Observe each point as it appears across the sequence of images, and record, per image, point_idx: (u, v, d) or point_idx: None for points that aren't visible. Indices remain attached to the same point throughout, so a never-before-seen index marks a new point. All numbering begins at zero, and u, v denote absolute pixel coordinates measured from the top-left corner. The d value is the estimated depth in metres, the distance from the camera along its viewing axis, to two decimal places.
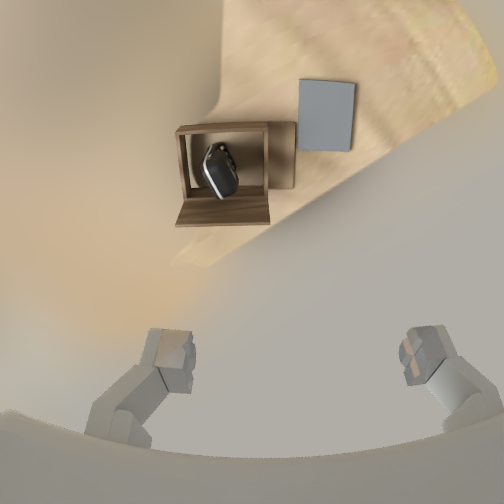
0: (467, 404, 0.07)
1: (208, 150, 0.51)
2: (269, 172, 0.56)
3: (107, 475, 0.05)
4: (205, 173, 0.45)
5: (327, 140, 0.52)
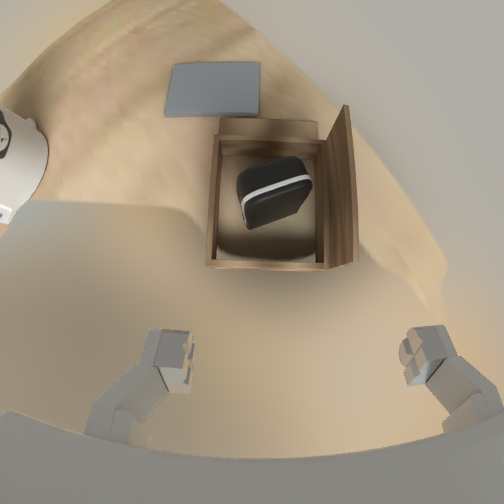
0: (467, 404, 0.07)
1: (246, 221, 0.35)
2: None
3: (107, 475, 0.05)
4: (257, 195, 0.27)
5: (245, 82, 0.39)
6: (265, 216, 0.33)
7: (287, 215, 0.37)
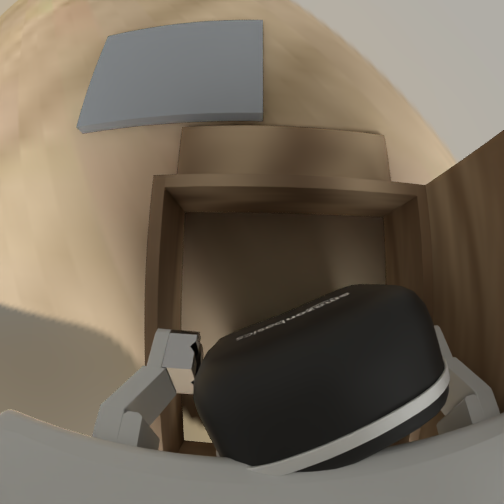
0: (461, 406, 0.07)
1: None
2: None
3: (107, 475, 0.05)
4: None
5: (234, 54, 0.19)
6: None
7: None
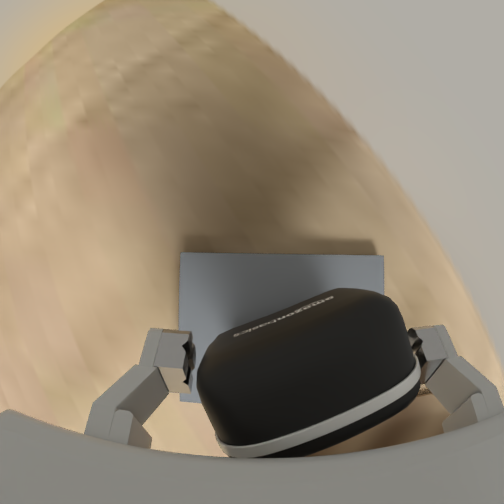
0: (467, 404, 0.07)
1: None
2: None
3: (107, 475, 0.05)
4: (259, 457, 0.07)
5: None
6: None
7: None
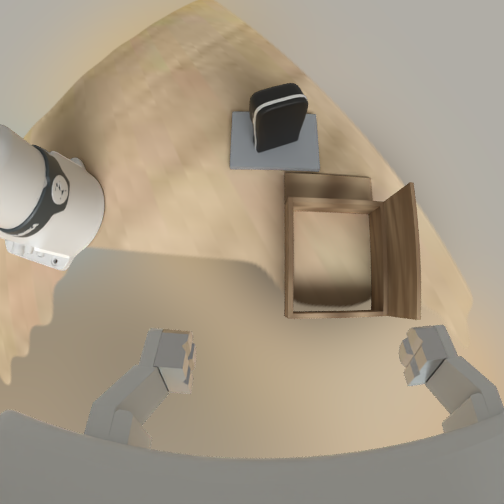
0: (467, 404, 0.07)
1: (256, 141, 0.41)
2: None
3: (107, 475, 0.05)
4: (266, 106, 0.33)
5: (304, 136, 0.44)
6: (272, 134, 0.39)
7: (290, 141, 0.43)
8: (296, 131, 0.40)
